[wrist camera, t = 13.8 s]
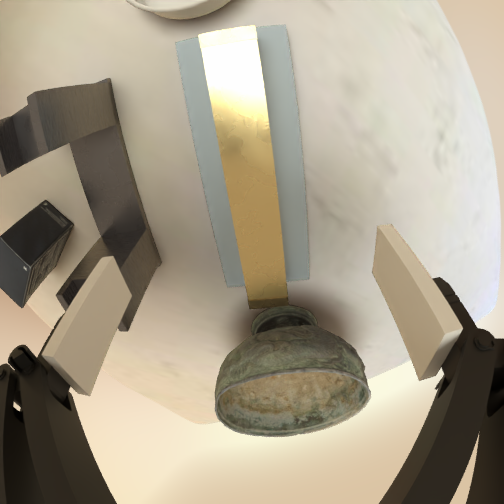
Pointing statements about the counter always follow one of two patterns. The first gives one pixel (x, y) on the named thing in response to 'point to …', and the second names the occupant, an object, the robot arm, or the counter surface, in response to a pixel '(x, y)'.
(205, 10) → the saucepan
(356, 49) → the counter surface
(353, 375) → the bowl
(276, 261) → the rail
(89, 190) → the grey metal bracket
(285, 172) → the board
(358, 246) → the counter surface
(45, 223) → the small box
